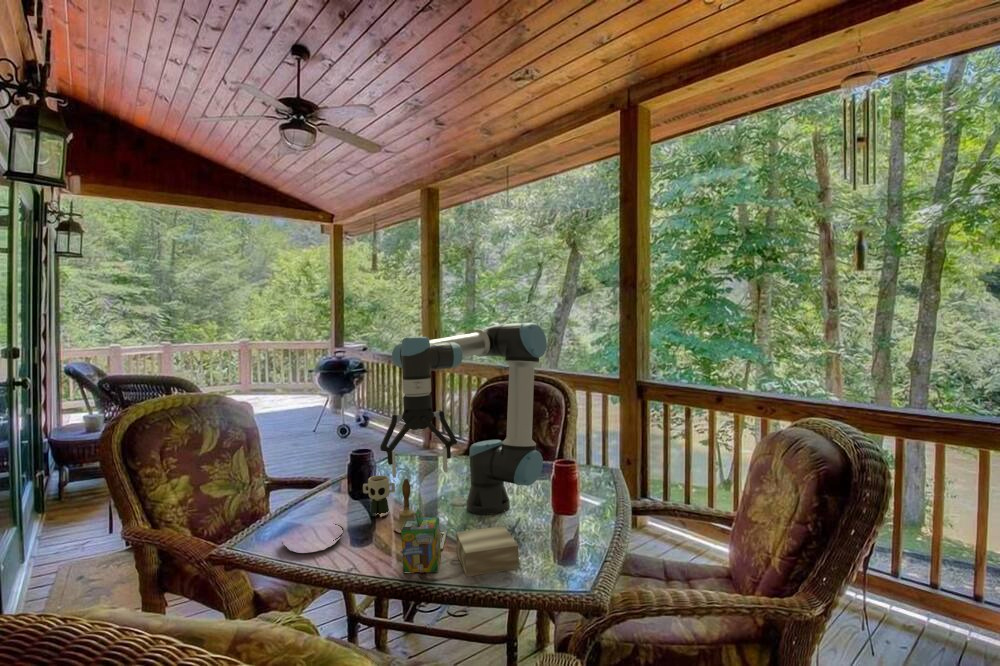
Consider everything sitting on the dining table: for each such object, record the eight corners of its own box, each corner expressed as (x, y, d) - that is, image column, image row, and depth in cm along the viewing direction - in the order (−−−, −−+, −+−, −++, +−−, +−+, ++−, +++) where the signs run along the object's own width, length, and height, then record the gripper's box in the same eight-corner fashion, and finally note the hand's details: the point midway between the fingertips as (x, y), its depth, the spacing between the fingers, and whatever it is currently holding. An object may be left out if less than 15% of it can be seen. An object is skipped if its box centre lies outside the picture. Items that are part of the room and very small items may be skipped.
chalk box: (437, 573, 132) (435, 516, 132) (402, 574, 132) (400, 517, 132) (442, 557, 141) (440, 504, 141) (409, 558, 141) (407, 505, 141)
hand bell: (410, 522, 168) (408, 473, 168) (425, 528, 162) (423, 478, 162) (388, 529, 162) (386, 479, 162) (403, 536, 156) (401, 484, 156)
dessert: (446, 535, 157) (446, 520, 157) (443, 552, 145) (442, 535, 145) (407, 537, 157) (407, 521, 157) (401, 554, 145) (400, 537, 145)
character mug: (361, 520, 171) (359, 481, 171) (366, 512, 178) (365, 475, 178) (393, 519, 171) (392, 480, 171) (397, 511, 178) (396, 474, 178)
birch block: (456, 553, 143) (456, 532, 143) (504, 546, 146) (504, 525, 146) (466, 576, 129) (465, 553, 129) (519, 568, 133) (518, 545, 133)
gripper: (369, 399, 129) (372, 482, 129) (465, 392, 136) (468, 472, 136) (369, 395, 136) (371, 474, 136) (460, 389, 143) (463, 465, 143)
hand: (420, 473), depth 136 cm, fingers open, 13 cm apart
